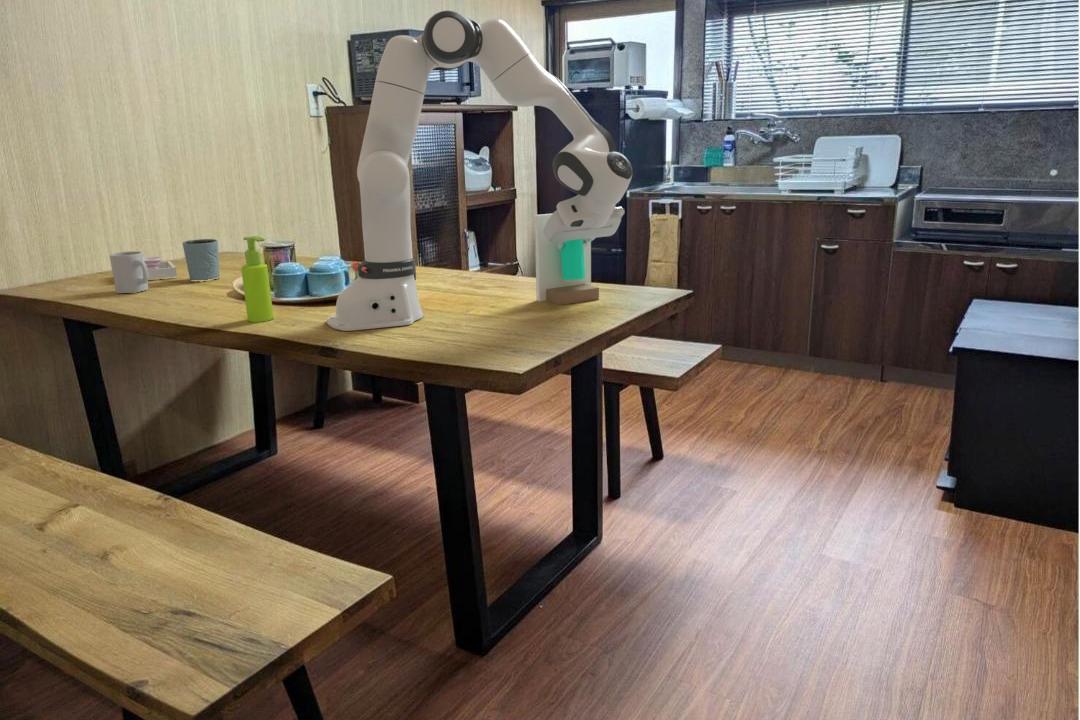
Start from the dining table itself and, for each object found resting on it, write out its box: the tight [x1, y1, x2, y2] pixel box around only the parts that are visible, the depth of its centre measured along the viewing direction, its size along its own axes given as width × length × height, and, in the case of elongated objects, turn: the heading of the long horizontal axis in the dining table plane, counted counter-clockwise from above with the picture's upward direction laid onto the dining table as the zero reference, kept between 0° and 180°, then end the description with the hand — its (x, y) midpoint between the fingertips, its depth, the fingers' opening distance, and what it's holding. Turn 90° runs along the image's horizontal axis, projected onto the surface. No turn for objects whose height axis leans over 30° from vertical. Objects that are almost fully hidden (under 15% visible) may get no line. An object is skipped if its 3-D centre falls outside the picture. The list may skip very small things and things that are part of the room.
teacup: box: [143, 255, 162, 270], centre depth 248 cm, size 12×12×6 cm
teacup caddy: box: [148, 260, 178, 279], centre depth 248 cm, size 16×16×4 cm
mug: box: [109, 251, 149, 294], centre depth 225 cm, size 12×8×11 cm
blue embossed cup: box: [182, 238, 221, 281], centre depth 241 cm, size 10×10×12 cm
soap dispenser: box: [240, 235, 274, 323], centre depth 186 cm, size 6×7×20 cm
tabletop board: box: [534, 213, 600, 306], centre depth 201 cm, size 16×8×22 cm, turn 121°
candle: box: [561, 239, 585, 280], centre depth 200 cm, size 6×6×12 cm
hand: (571, 246), depth 200 cm, fingers closed on candle, 5 cm apart
